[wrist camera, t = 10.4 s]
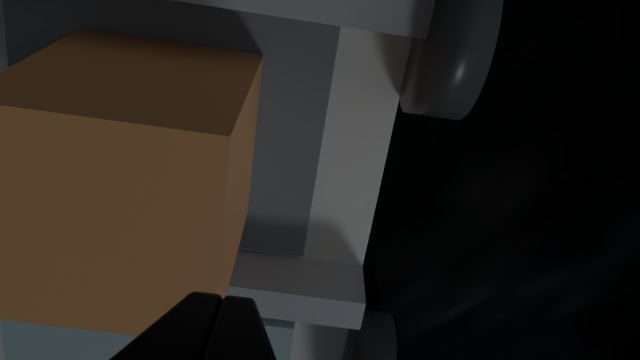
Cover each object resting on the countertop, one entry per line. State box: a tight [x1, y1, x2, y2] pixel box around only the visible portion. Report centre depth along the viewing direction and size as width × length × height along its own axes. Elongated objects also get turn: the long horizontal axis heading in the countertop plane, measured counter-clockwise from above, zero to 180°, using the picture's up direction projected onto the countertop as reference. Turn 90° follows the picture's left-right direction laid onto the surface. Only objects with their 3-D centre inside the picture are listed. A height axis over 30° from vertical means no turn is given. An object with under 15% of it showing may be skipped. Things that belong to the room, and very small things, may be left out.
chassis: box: [0, 0, 503, 360], centre depth 18 cm, size 16×17×4 cm
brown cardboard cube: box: [0, 29, 263, 336], centre depth 14 cm, size 5×5×6 cm
